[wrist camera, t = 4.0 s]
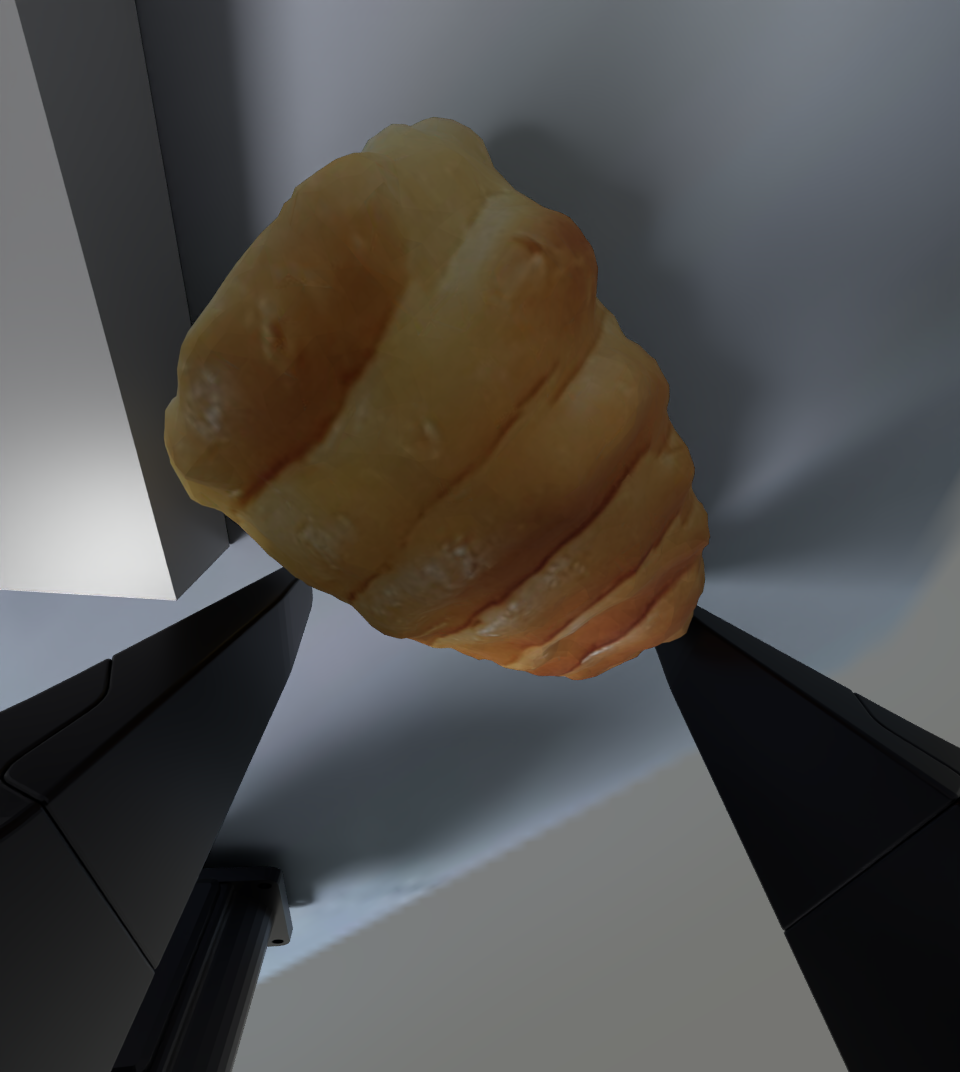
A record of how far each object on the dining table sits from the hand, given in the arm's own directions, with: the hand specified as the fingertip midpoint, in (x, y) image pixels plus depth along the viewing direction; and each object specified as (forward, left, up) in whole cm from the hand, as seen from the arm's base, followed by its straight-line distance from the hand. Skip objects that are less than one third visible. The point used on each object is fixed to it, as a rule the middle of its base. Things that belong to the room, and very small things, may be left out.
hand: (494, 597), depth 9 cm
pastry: (0, 0, -2) cm, 2 cm away
